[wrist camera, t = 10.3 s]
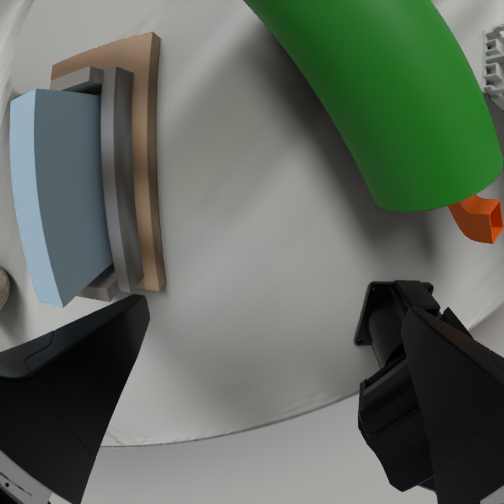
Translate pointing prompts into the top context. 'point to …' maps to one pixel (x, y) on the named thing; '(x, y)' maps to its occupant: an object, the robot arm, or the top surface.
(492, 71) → the circuit breaker
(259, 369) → the top surface
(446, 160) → the motor
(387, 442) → the robot arm
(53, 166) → the cabinet door
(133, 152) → the cabinet base
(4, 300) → the lumpy boulder
